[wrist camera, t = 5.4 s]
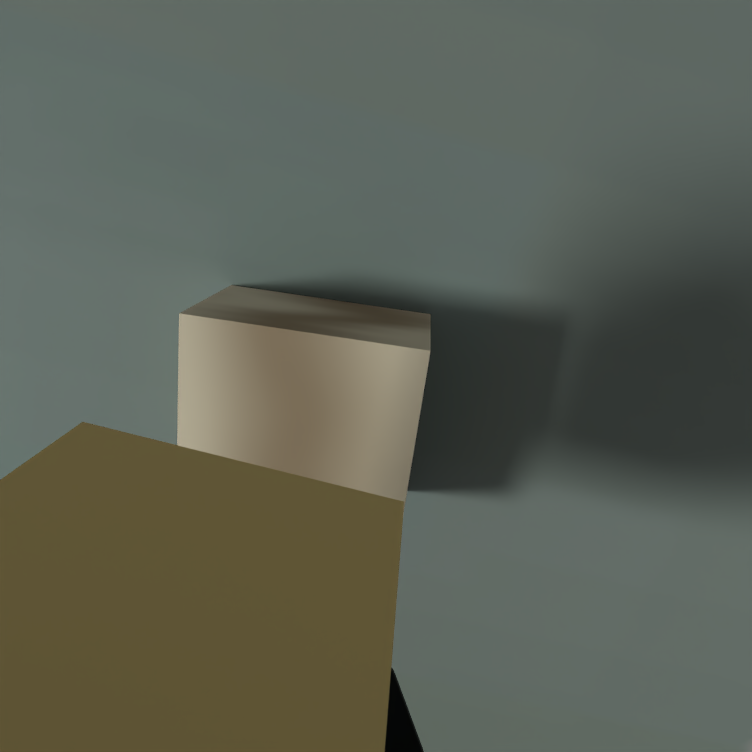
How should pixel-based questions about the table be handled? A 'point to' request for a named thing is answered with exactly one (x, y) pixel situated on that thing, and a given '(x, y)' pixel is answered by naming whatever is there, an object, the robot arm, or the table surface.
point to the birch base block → (304, 386)
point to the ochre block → (191, 603)
